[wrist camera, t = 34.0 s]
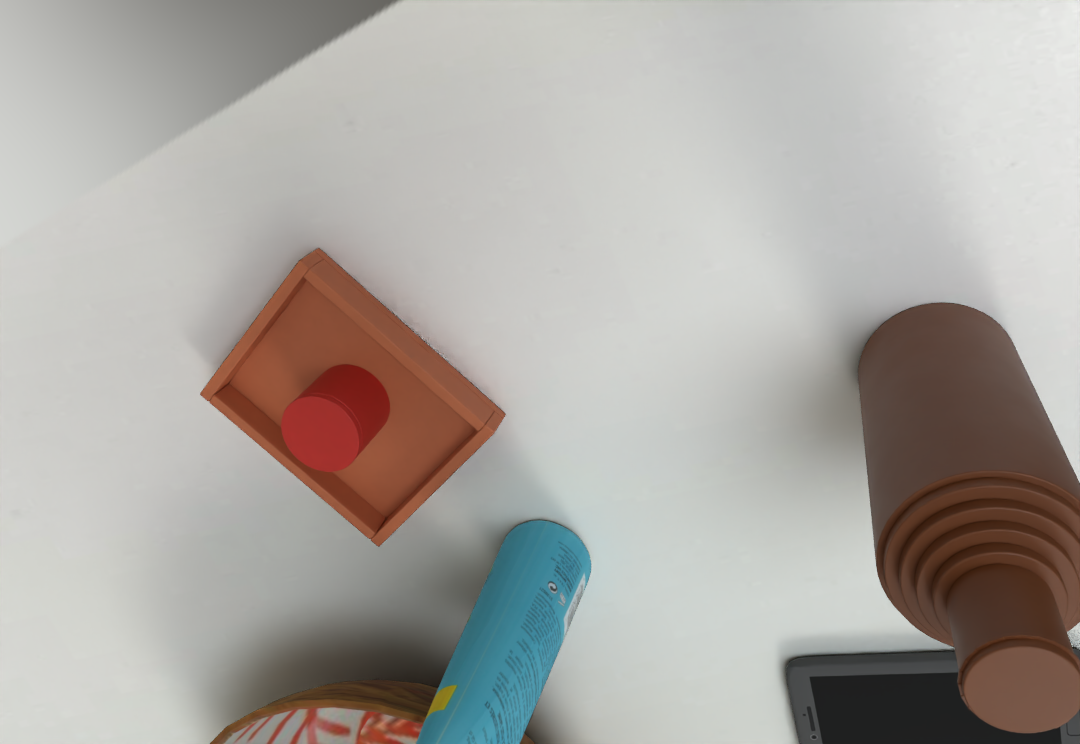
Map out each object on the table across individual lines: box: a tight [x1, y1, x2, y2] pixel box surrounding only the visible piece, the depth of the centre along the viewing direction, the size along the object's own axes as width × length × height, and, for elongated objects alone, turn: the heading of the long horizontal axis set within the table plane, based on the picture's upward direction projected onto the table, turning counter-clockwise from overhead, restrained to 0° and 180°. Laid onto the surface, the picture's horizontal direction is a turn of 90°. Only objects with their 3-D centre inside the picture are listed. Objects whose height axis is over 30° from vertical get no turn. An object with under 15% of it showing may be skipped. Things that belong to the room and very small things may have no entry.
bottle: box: [858, 303, 1080, 733], centre depth 33 cm, size 6×6×20 cm
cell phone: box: [786, 649, 1080, 744], centre depth 48 cm, size 7×14×1 cm, turn 105°
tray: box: [200, 248, 506, 547], centre depth 48 cm, size 12×10×2 cm
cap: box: [281, 364, 390, 472], centre depth 47 cm, size 4×4×4 cm
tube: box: [416, 520, 591, 744], centre depth 42 cm, size 7×5×19 cm, turn 11°
